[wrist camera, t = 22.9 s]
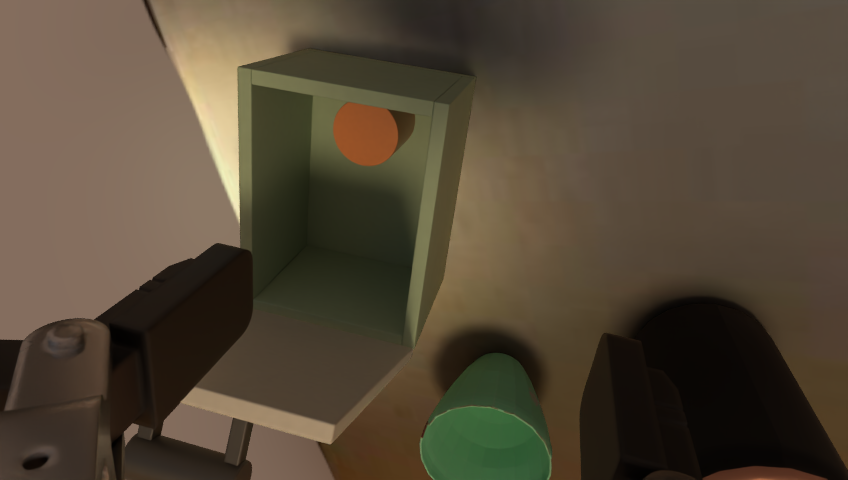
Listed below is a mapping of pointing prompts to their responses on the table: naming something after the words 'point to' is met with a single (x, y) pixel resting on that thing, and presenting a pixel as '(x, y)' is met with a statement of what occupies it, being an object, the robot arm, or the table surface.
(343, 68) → the pale green hollow box
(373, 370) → the box lid
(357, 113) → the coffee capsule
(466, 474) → the mug
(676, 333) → the coffee jar
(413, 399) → the table surface
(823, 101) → the table surface
